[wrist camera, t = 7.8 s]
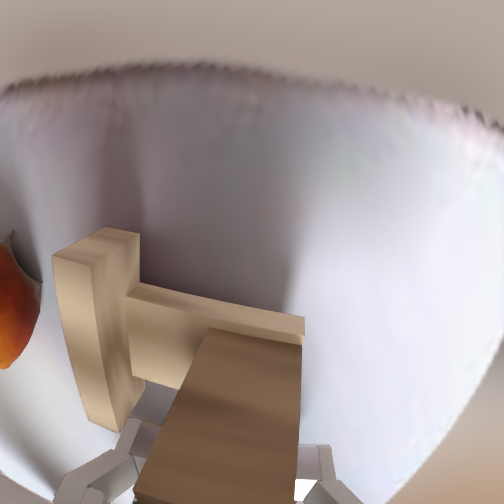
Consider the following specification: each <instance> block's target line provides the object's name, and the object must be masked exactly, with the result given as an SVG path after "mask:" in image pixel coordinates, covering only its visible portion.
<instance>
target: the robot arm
mask: <svg viewBox="0 0 504 504" xmlns="http://www.w3.org/2000/svg"><path fill="white" fill-rule="evenodd" d="M161 427H162V425H158V424H154V423H150V422H146V421H143V420H139V419H135V418H132V417H129V419H128V420H127V422H126V424H125V426H124V429H123V431H122V433H121V436H120V438H119V440H118V443H117V445H116V447H115V450H112V449H110V450H108V451H107V452H105V453H103V454H102V455H100V456H98V457H97V458H95V459H93V460H91V461H90V462H88V463H86V464H84V465H83V466H81V467H79V468H77V469H75V470H74V471H72V472H70V473H68V474H66V475H65V476H64V478H63V480H62V482H61V484H60V486H59V489H58V491H57V493H56V495H55V497H54V499H53V502H51V501H49V500H47V499H45V498H43V497H42V496H40V495H38V494H36V493H34V492H32V491H31V490H29V489H27V488H25V487H24V486H22V485H20V484H18V483H17V482H15V481H13V480H12V479H10V478H9V477H7V476H6V475H4V474H2V473H1V472H0V504H109V503H110V502H111V501H113V500H114V499H115V498H117V497H118V496H119V495H121V494H122V493H123V492H124V491H126V490H127V489H128V488H130V487H131V486H132V485H133V484H135V483H136V481H137V479H138V476H139V474H140V472H141V470H142V468H143V466H144V464H145V461H146V459H147V457H148V455H149V453H150V451H151V449H152V446H153V444H154V442H155V440H156V438H157V436H158V434H159V431H160V429H161ZM294 500H303V502H304V504H363V503H362V502H361V501H360V500H359V499H358V498H357V497H356V496H355V495H354V494H353V493H352V492H351V491H350V490H349V489H348V488H347V487H346V486H345V485H344V484H343V483H342V481H341V480H336V474H335V468H334V461H333V455H332V449H331V446H330V445H316V444H298V459H297V474H296V487H295V499H294Z"/></svg>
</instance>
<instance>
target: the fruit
mask: <svg viewBox="0 0 504 504" xmlns="http://www.w3.org/2000/svg"><path fill="white" fill-rule="evenodd" d="M12 234H13V231H12V232H11V234H10V235H9V237H8V239H7V241H6V242H5V243H4V244H2V243H0V369H6V368H8V367H9V366H10V365H11V364H12V363H13V362H14V361H15V360H16V359H17V358H18V357H19V356H20V355H21V353H22V352H23V350H24V349H25V347H26V346H27V344H28V342H29V340H30V338H31V336H32V333H33V330H34V327H35V324H36V321H37V318H38V316H39V313H40V288H41V283H42V282H39V281H36V280H34V279H32V278H31V277H29V276H28V275H27V274H26V273H25V272H24V271H23V270H22V269H21V267H20V266H19V264H18V263H17V261H16V259H15V256H14V253H13V251H12V246H11V237H12Z"/></svg>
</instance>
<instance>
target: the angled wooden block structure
mask: <svg viewBox="0 0 504 504" xmlns="http://www.w3.org/2000/svg"><path fill="white" fill-rule="evenodd" d="M52 265H53V273H54V281H55V288H56V294H57V300H58V306H59V312H60V317H61V322H62V327H63V332H64V337H65V341H66V345H67V350H68V354H69V358H70V362H71V365H72V369H73V373H74V376H75V380H76V383H77V387H78V390H79V393H80V396H81V399H82V403H83V406H84V409H85V411H86V414H87V417H88V420H89V421H90V422H93V423H95V424H97V425H99V426H102V427H104V428H106V429H109V430H111V431H113V432H116V433H118V434H120V432H121V430H122V428H123V427H124V425H125V423H126V421H127V420H128V418H129V416H130V415H131V413H132V411H133V409H134V408H135V406H136V404H137V403H138V401H139V399H140V397H141V396H142V394H143V392H144V391H145V389H146V384H145V380H148V381H151V382H154V383H157V384H161V385H164V386H167V387H171V388H174V389H178V390H179V391H178V393H177V395H176V397H175V400H174V402H173V404H172V406H171V408H170V410H169V412H168V414H167V417H166V419H165V421H164V423H163V425H162V427H161V429H160V431H159V434H158V436H157V438H156V440H155V442H154V444H153V446H152V449H151V451H150V453H149V455H148V457H147V459H146V461H145V464H144V466H143V468H142V470H141V472H140V474H139V476H138V479H137V481H136V483H135V485H134V487H133V492H134V494H135V497H136V499H137V501H138V504H294V499H295V487H296V474H297V459H298V442H299V423H300V399H301V365H302V343H303V340H304V336H305V317H301V316H295V315H289V314H284V313H279V312H273V311H268V310H263V309H258V308H253V307H248V306H243V305H238V304H233V303H228V302H223V301H219V300H214V299H209V298H205V297H200V296H196V295H191V294H187V293H182V292H178V291H174V290H170V289H165V288H161V287H157V286H153V285H149V284H145V283H141V282H140V234H139V233H134V232H129V231H124V230H119V229H113V228H108V227H103V228H102V229H100V230H98V231H96V232H94V233H92V234H90V235H88V236H86V237H84V238H83V239H81V240H79V241H77V242H75V243H73V244H71V245H70V246H68V247H66V248H64V249H62V250H61V251H59V252H57V253H55V254H53V255H52Z"/></svg>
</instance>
